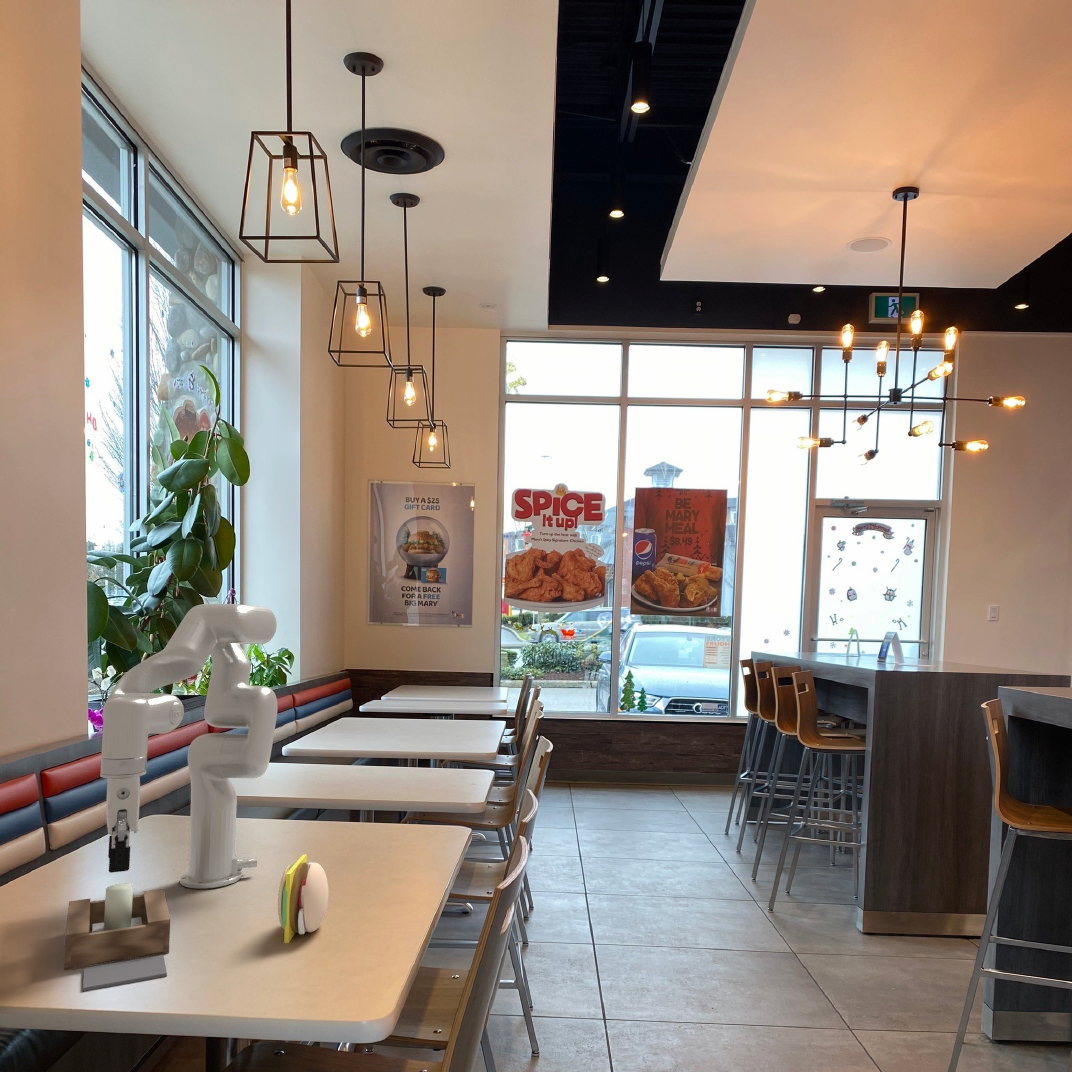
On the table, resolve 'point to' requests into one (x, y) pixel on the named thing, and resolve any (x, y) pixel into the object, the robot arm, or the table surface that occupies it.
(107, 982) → the rubber mat
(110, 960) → the walnut box
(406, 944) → the table surface
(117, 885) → the sage cylinder
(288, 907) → the hamburger
